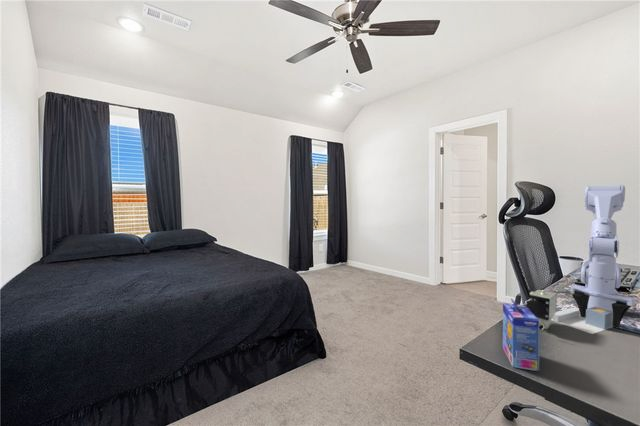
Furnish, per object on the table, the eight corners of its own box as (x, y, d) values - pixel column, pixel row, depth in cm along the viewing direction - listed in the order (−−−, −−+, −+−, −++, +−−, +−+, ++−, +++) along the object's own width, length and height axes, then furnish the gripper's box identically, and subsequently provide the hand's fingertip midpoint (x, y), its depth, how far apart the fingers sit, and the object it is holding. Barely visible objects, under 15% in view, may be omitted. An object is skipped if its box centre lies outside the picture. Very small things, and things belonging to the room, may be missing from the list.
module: (594, 320, 92) (594, 306, 92) (613, 326, 88) (613, 311, 87) (585, 323, 90) (586, 308, 90) (604, 329, 86) (605, 314, 85)
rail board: (571, 316, 97) (571, 307, 97) (613, 329, 88) (614, 319, 88) (549, 322, 93) (550, 312, 93) (592, 337, 83) (592, 326, 83)
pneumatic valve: (556, 326, 90) (558, 288, 89) (546, 338, 82) (548, 296, 82) (535, 320, 94) (536, 284, 94) (523, 331, 87) (524, 291, 86)
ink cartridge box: (500, 347, 77) (502, 293, 77) (524, 350, 76) (527, 296, 75) (511, 367, 68) (513, 307, 67) (539, 372, 66) (542, 309, 66)
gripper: (565, 272, 93) (563, 314, 94) (627, 285, 80) (625, 333, 80) (578, 270, 96) (576, 311, 96) (640, 282, 83) (637, 329, 83)
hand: (599, 321), depth 89 cm, fingers open, 7 cm apart
